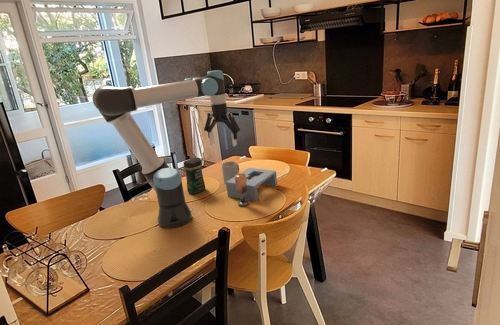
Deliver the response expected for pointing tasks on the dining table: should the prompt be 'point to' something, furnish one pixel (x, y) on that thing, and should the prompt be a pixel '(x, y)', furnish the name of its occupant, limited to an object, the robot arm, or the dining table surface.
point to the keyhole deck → (252, 182)
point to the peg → (241, 188)
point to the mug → (229, 170)
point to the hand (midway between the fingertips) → (223, 145)
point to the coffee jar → (194, 175)
